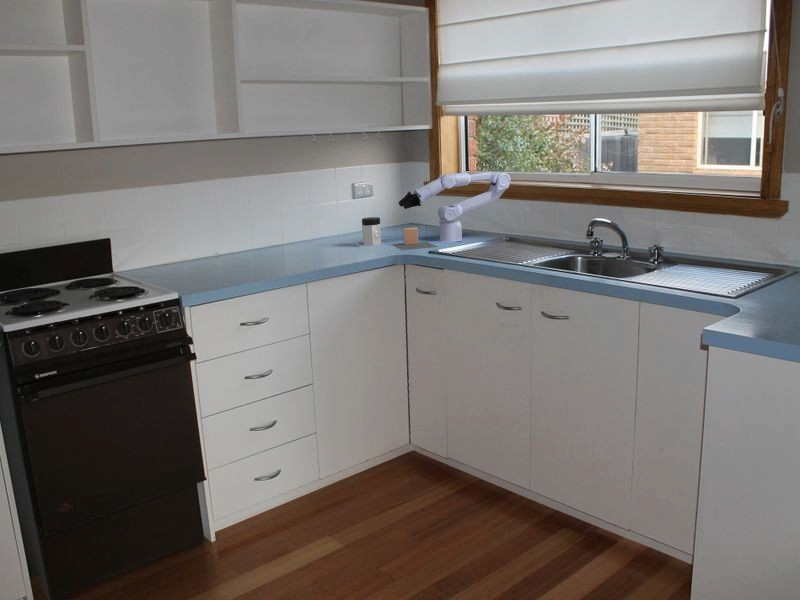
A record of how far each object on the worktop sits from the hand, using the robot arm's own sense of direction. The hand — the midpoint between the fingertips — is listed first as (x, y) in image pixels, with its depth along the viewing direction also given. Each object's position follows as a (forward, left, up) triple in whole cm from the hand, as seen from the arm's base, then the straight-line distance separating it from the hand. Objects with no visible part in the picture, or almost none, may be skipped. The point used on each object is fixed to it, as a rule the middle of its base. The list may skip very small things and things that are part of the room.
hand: (401, 205), depth 351 cm
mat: (-3, +9, -17) cm, 20 cm away
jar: (+12, -7, -18) cm, 23 cm away
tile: (-3, +4, -17) cm, 17 cm away
